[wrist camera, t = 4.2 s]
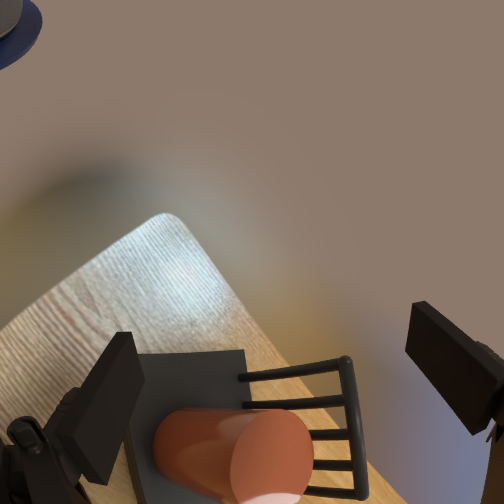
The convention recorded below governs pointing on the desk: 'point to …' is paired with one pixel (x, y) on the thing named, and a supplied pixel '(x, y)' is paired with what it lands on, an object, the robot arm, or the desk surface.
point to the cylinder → (235, 454)
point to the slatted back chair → (233, 397)
